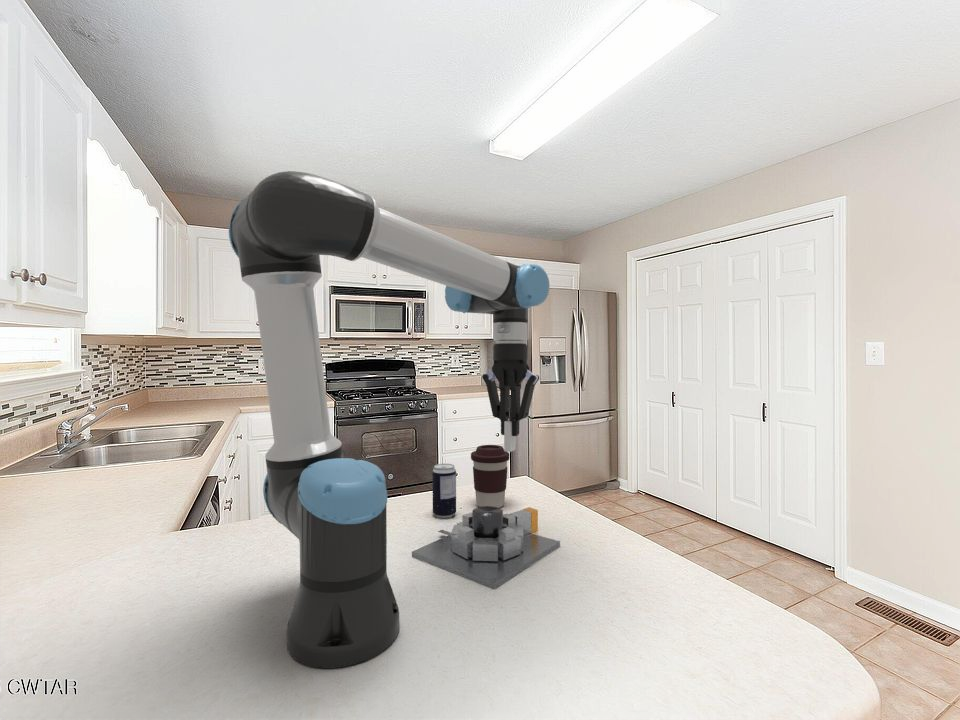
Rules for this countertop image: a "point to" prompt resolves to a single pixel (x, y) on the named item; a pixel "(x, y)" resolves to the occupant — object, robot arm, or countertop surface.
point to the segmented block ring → (494, 547)
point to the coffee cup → (490, 475)
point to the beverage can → (444, 490)
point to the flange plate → (486, 572)
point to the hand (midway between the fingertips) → (510, 450)
